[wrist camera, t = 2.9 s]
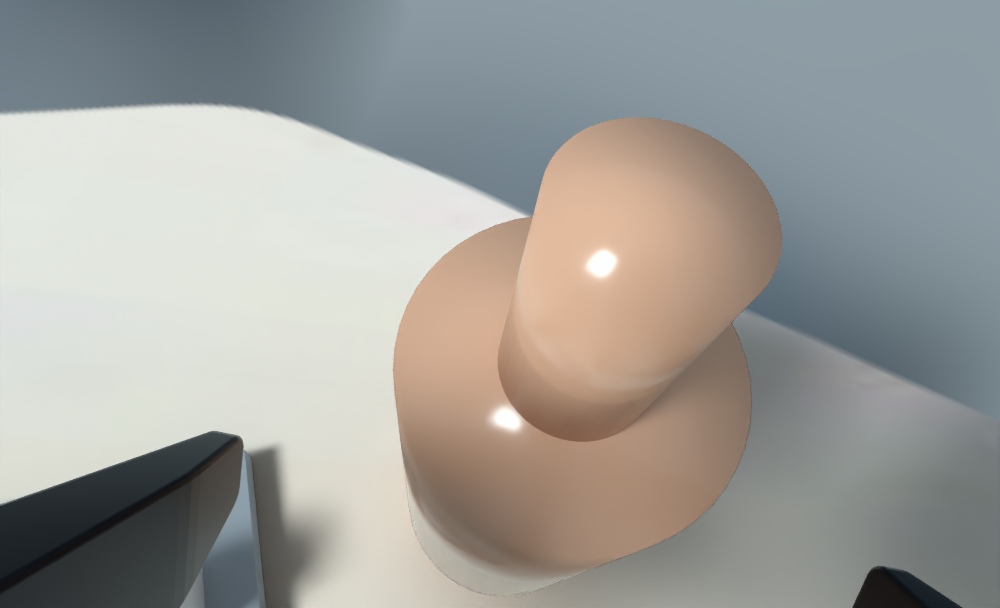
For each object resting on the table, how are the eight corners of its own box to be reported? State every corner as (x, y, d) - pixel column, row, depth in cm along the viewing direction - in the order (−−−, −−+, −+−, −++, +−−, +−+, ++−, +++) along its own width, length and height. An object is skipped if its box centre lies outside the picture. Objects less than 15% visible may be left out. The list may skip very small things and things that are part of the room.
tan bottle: (633, 485, 19) (1017, 211, 7) (514, 643, 17) (765, 669, 4) (494, 367, 20) (603, -48, 8) (367, 499, 18) (245, 210, 6)
